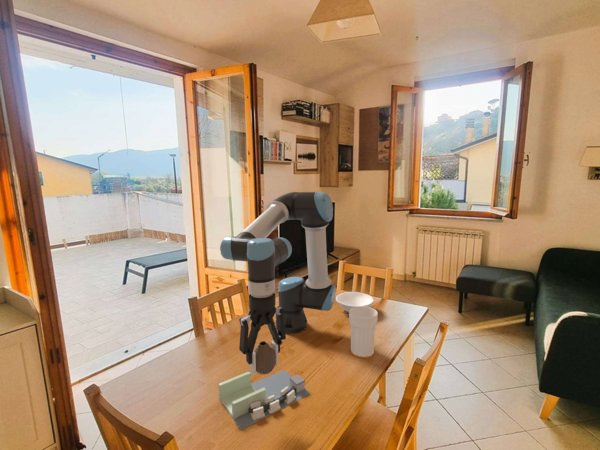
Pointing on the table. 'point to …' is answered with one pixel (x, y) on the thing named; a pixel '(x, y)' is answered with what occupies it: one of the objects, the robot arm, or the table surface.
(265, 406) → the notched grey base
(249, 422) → the board
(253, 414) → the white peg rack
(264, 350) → the vase
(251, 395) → the holder
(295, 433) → the table surface
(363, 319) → the cup
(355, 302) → the bowl
